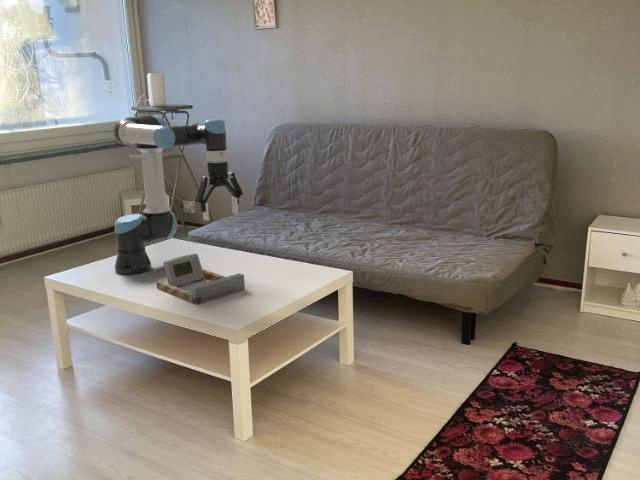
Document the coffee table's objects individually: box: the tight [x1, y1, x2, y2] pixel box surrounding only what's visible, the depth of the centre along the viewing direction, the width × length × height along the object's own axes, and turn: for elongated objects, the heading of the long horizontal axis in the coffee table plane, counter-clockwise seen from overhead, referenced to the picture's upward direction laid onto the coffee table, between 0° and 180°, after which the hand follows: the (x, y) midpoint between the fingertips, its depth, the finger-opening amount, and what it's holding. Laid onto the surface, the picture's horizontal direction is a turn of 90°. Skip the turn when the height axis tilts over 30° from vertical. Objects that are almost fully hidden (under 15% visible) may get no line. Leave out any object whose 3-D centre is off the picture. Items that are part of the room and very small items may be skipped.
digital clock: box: [163, 253, 205, 288], centre depth 254 cm, size 16×9×11 cm, turn 123°
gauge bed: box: [156, 268, 246, 305], centre depth 247 cm, size 28×22×3 cm
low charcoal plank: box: [190, 272, 246, 305], centre depth 238 cm, size 3×22×6 cm, turn 134°
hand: (221, 217), depth 243 cm, fingers open, 13 cm apart
